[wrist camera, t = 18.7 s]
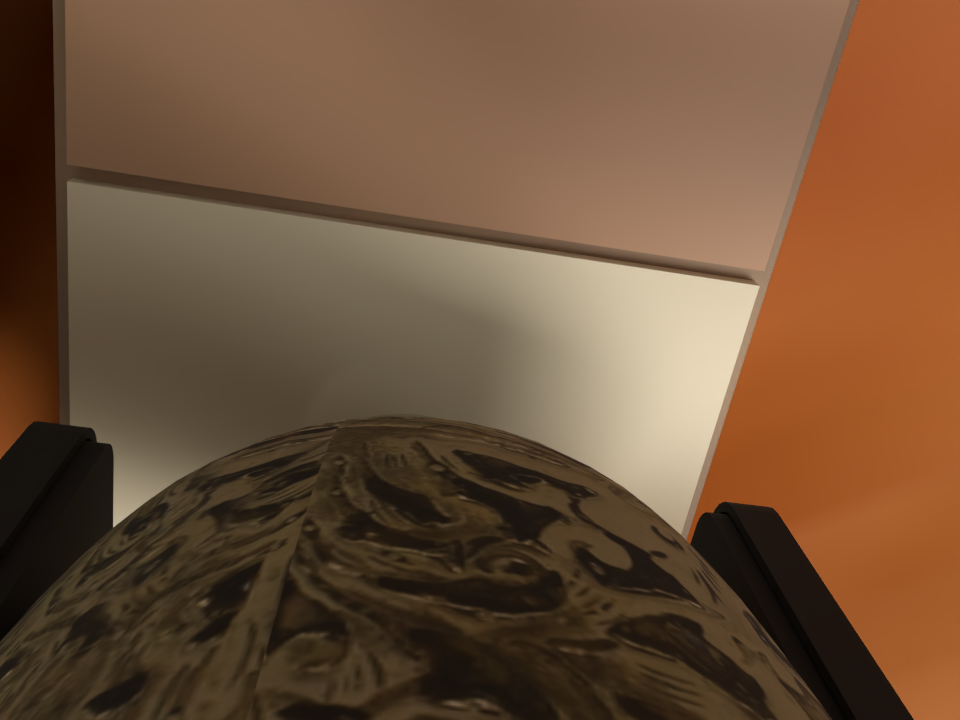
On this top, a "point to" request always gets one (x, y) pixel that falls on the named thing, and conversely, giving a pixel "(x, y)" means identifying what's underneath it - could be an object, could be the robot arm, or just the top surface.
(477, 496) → the dark bronze flared dome
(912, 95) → the top surface
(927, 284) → the top surface
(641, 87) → the track
